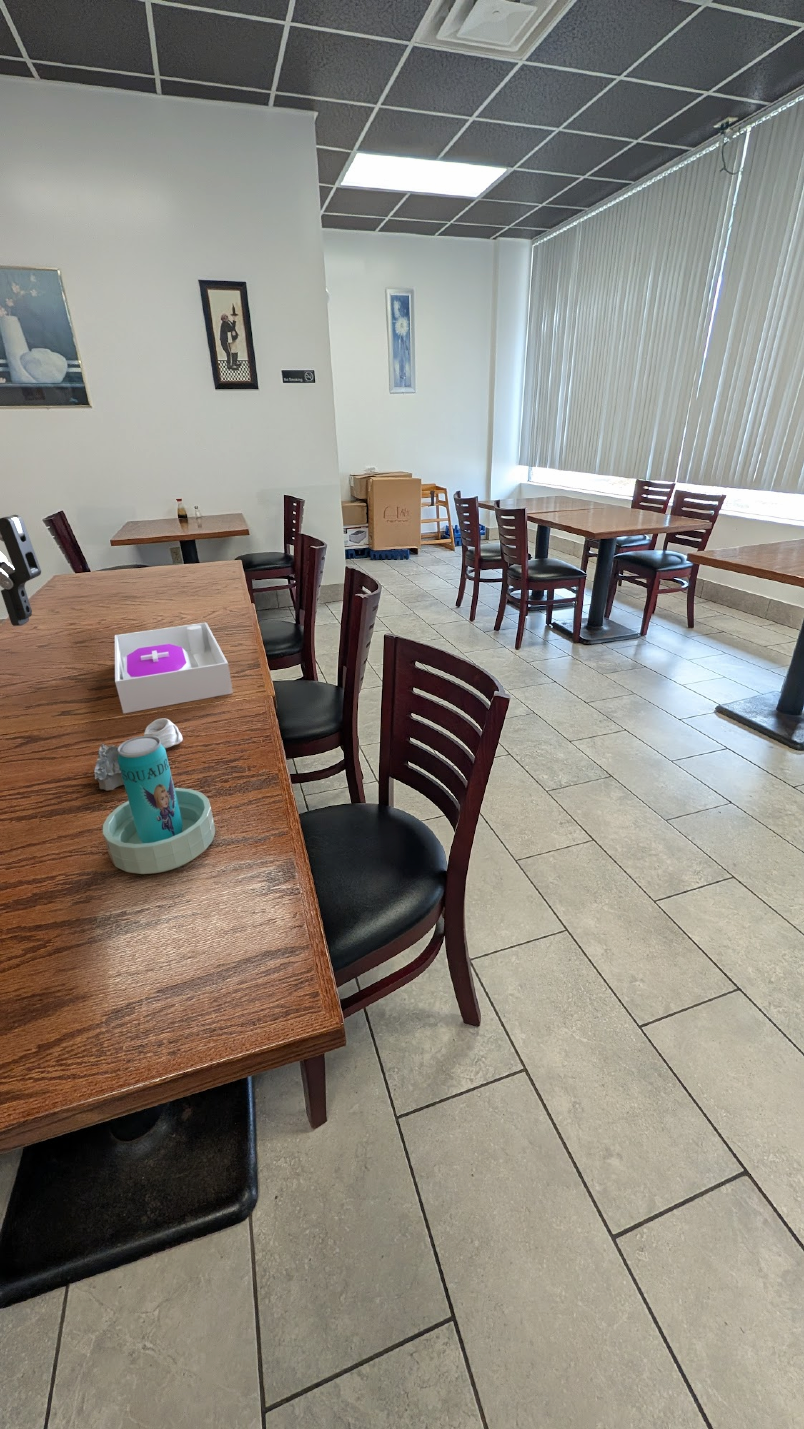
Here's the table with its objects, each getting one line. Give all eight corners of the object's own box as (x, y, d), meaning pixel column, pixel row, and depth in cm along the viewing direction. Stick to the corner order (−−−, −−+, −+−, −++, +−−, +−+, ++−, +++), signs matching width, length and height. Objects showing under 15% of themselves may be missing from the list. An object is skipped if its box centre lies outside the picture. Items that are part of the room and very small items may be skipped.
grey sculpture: (106, 762, 103) (100, 742, 101) (151, 755, 105) (146, 735, 103) (94, 794, 93) (87, 772, 92) (143, 786, 95) (138, 764, 93)
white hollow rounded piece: (188, 751, 107) (186, 728, 105) (149, 759, 104) (146, 735, 102) (178, 732, 113) (175, 709, 111) (140, 738, 110) (137, 715, 108)
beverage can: (161, 858, 77) (135, 759, 71) (132, 845, 80) (104, 749, 73) (194, 834, 82) (172, 739, 75) (165, 823, 84) (142, 730, 78)
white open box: (211, 647, 158) (206, 621, 155) (233, 693, 129) (227, 662, 126) (121, 661, 150) (114, 634, 147) (123, 713, 121) (114, 680, 118)
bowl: (96, 883, 74) (86, 851, 72) (130, 820, 87) (122, 791, 85) (205, 873, 76) (198, 842, 73) (223, 812, 88) (218, 784, 86)
